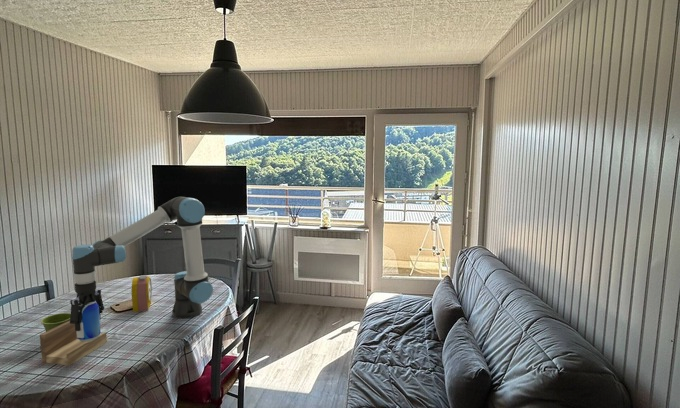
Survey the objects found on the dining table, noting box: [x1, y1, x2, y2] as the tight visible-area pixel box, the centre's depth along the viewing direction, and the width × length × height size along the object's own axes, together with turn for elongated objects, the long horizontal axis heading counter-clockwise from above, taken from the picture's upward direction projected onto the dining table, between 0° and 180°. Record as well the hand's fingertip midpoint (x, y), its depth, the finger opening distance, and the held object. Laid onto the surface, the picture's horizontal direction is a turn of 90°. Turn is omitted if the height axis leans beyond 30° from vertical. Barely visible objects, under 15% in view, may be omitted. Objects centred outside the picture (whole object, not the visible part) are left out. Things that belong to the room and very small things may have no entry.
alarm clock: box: [131, 274, 153, 313], centre depth 214 cm, size 15×8×18 cm, turn 20°
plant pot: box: [40, 312, 71, 332], centre depth 174 cm, size 12×12×11 cm
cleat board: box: [39, 320, 108, 366], centre depth 165 cm, size 13×20×12 cm, turn 171°
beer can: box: [77, 301, 102, 342], centre depth 163 cm, size 8×8×16 cm
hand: (89, 332), depth 163 cm, fingers closed on beer can, 8 cm apart
